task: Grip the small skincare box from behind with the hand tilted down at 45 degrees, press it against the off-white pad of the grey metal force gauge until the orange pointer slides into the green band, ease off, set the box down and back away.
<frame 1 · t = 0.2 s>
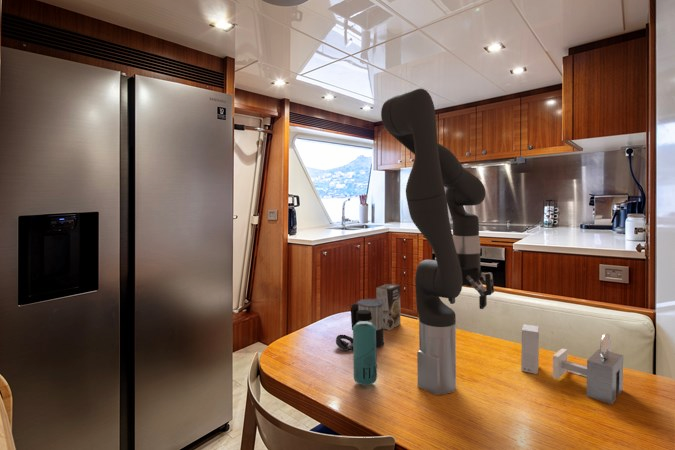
hand: (467, 305, 100), 18 cm above the table, tool pointing down, fingers open, 8 cm apart
beverage bottle: (365, 385, 92), on the table
gauge plunger: (584, 368, 91), point 4 cm above the table, slide at 0.0 cm
milk frother: (360, 346, 118), on the table
coffee box: (388, 326, 138), on the table
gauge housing: (570, 381, 92), on the table
skincare box: (530, 369, 99), on the table
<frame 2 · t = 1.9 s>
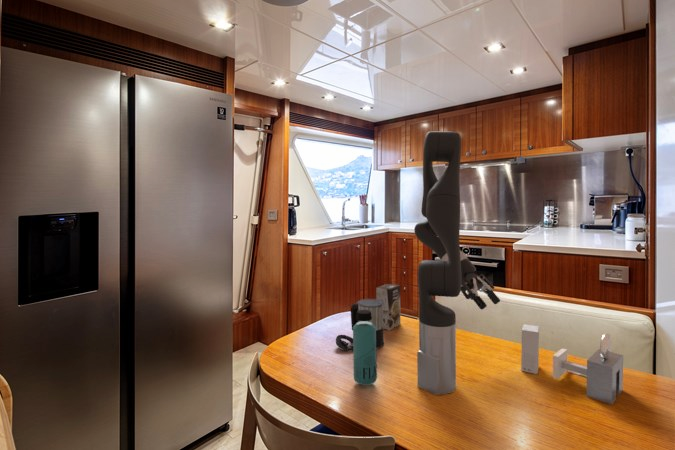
hand: (491, 305, 108), 16 cm above the table, tool tilted 45°, fingers open, 8 cm apart
nothing on the table moved.
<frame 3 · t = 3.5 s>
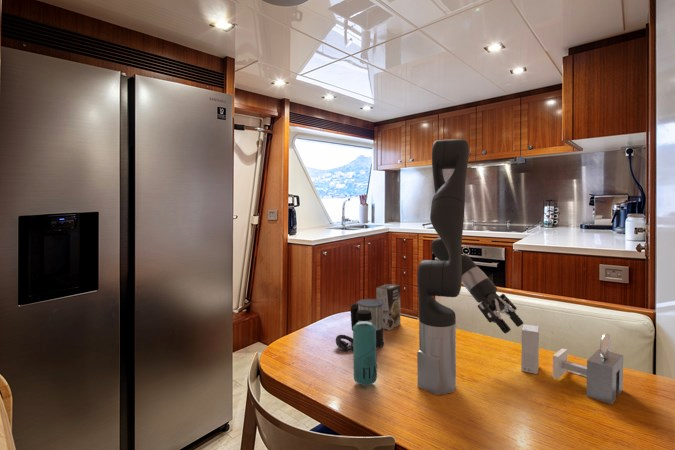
hand: (514, 328, 102), 11 cm above the table, tool tilted 45°, fingers open, 8 cm apart
nothing on the table moved.
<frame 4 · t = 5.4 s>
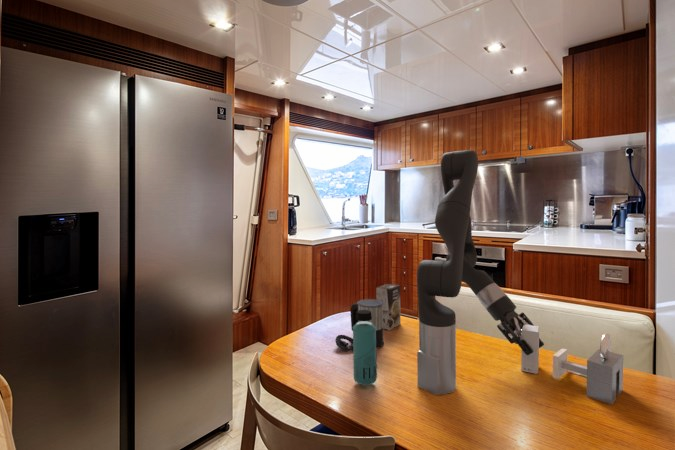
hand: (536, 350, 98), 6 cm above the table, tool tilted 45°, fingers closed on skincare box, 7 cm apart
skincare box: (530, 369, 99), on the table, touching gripper
everything else where it was.
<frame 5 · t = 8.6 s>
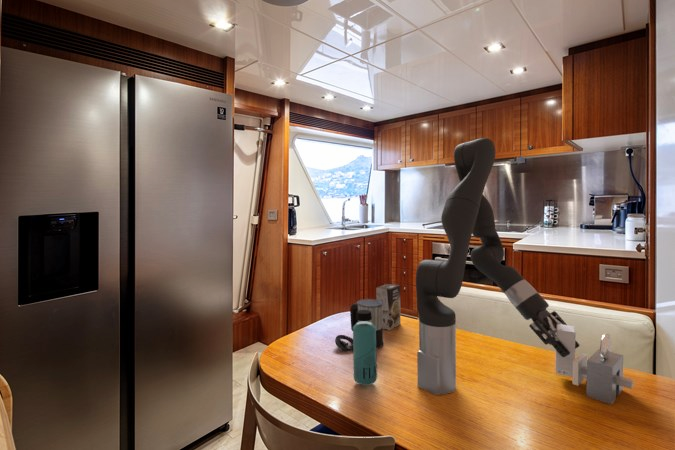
hand: (571, 351, 91), 8 cm above the table, tool tilted 45°, fingers closed on skincare box, 7 cm apart
gauge plunger: (605, 374, 87), point 4 cm above the table, slide at 4.6 cm, touching skincare box
skincare box: (564, 372, 93), point 2 cm above the table, touching gauge plunger, gripper
everything else where it was.
when the fingers open (7 cm above the table, at t = 10.5 s): skincare box stays where it is, on the table.
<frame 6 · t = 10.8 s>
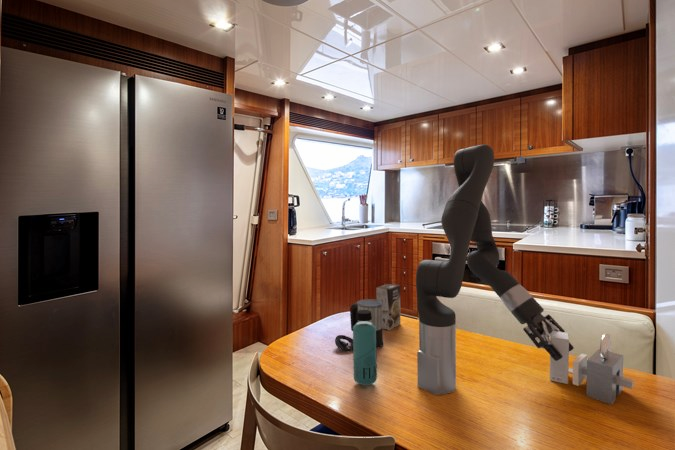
hand: (565, 354, 92), 7 cm above the table, tool tilted 45°, fingers open, 8 cm apart
gauge plunger: (606, 374, 87), point 4 cm above the table, slide at 4.6 cm
skincare box: (558, 378, 94), on the table
everything else where it was.
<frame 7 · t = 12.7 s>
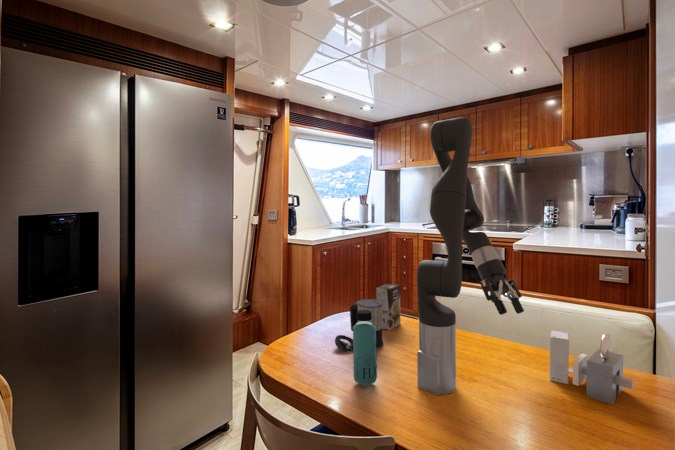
hand: (512, 313, 100), 16 cm above the table, tool tilted 35°, fingers open, 8 cm apart
nothing on the table moved.
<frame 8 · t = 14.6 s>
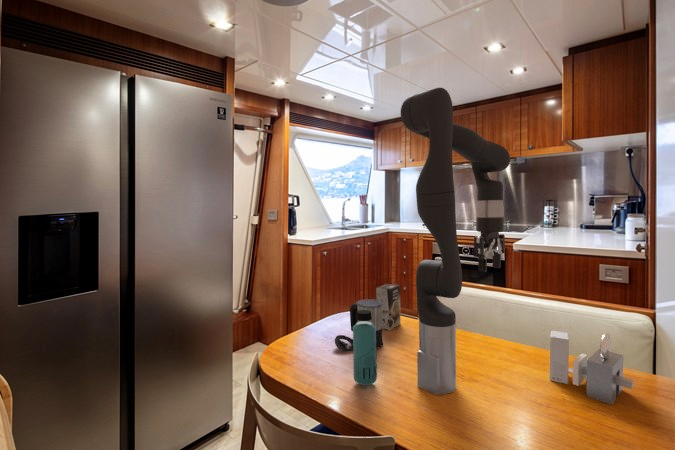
hand: (489, 269, 103), 28 cm above the table, tool pointing down, fingers open, 8 cm apart
nothing on the table moved.
at the end: gauge plunger slide at 4.6 cm; the gripper is holding nothing; skincare box tilted 0° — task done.
